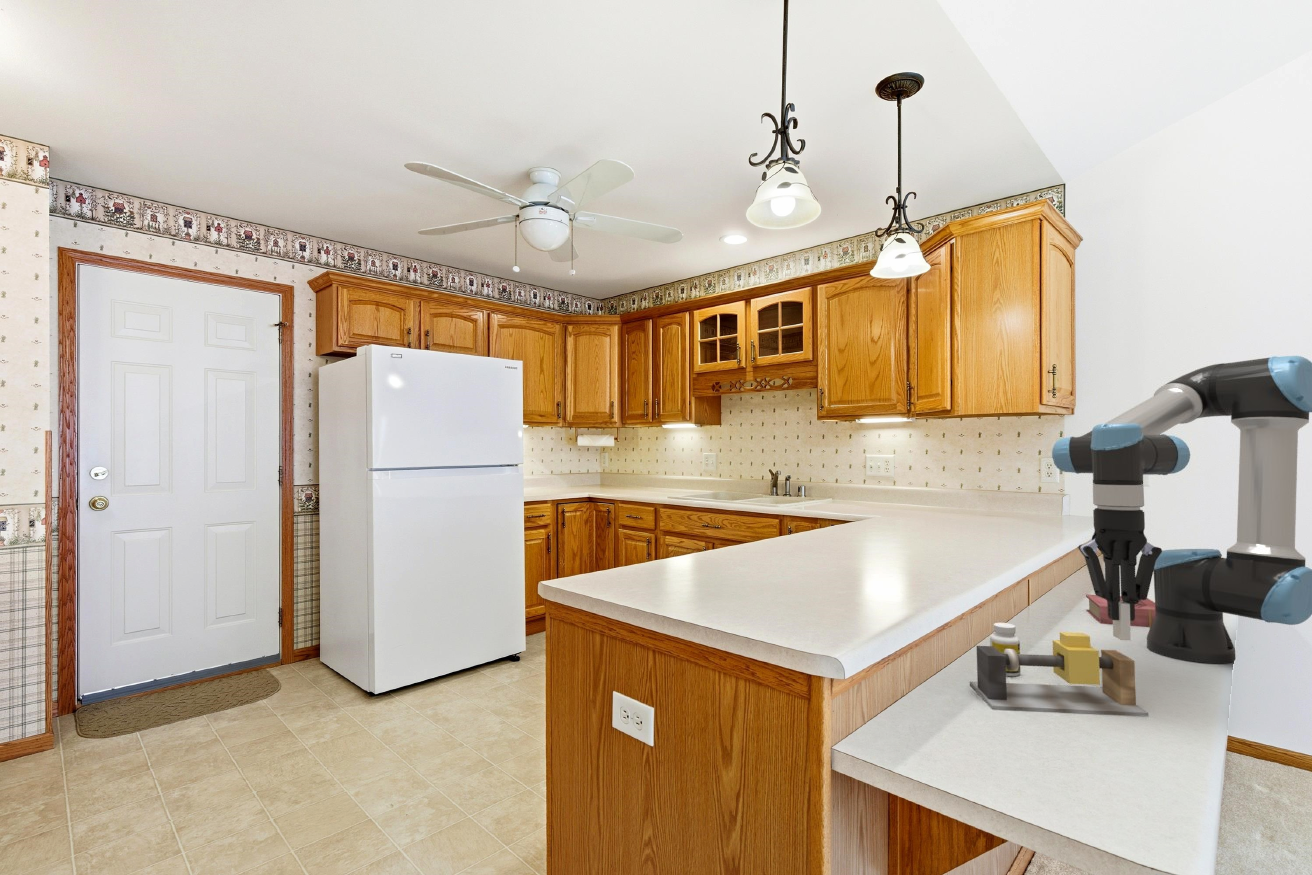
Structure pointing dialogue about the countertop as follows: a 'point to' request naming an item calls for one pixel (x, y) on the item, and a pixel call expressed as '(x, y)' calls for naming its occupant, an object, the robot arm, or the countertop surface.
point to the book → (1142, 609)
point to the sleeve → (1077, 659)
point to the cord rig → (1107, 699)
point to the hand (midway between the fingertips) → (1121, 637)
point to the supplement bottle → (1005, 641)
